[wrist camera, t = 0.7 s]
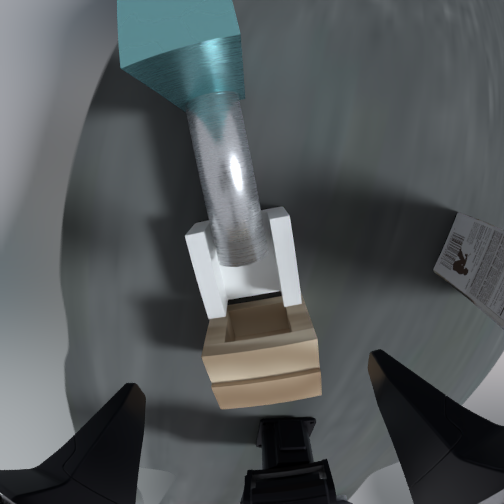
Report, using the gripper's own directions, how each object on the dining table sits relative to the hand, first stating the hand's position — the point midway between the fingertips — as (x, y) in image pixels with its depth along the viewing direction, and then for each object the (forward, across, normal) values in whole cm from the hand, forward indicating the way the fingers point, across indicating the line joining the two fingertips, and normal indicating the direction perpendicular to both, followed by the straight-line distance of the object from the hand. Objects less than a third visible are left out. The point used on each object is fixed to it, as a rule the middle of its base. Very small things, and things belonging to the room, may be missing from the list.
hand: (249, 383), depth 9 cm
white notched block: (+12, 0, 0) cm, 12 cm away
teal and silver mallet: (+12, 0, -7) cm, 14 cm away
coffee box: (+12, -22, +5) cm, 25 cm away
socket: (+12, 0, +7) cm, 13 cm away
